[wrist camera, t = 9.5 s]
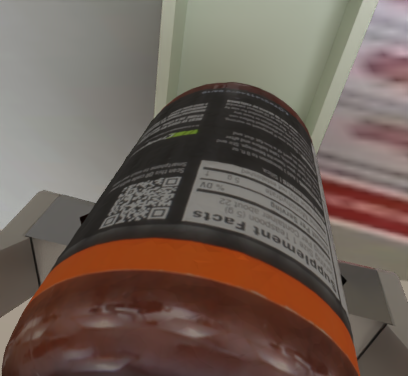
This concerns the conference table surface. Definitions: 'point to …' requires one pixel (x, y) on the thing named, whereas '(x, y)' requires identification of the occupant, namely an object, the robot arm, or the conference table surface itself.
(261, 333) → the supplement bottle
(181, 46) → the tray
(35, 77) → the conference table surface
